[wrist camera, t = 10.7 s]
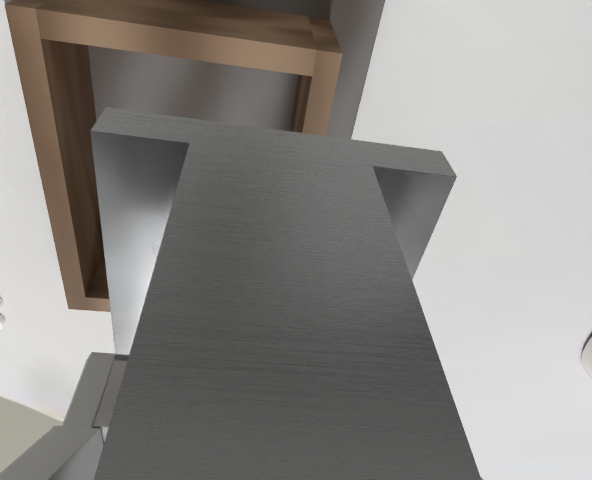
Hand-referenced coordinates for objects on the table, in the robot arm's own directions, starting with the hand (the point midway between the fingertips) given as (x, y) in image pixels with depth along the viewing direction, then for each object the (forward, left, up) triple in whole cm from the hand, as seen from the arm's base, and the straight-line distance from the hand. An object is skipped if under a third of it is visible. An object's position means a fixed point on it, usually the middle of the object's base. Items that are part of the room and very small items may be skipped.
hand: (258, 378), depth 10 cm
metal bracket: (0, 0, -4) cm, 4 cm away
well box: (+4, +6, -23) cm, 24 cm away
